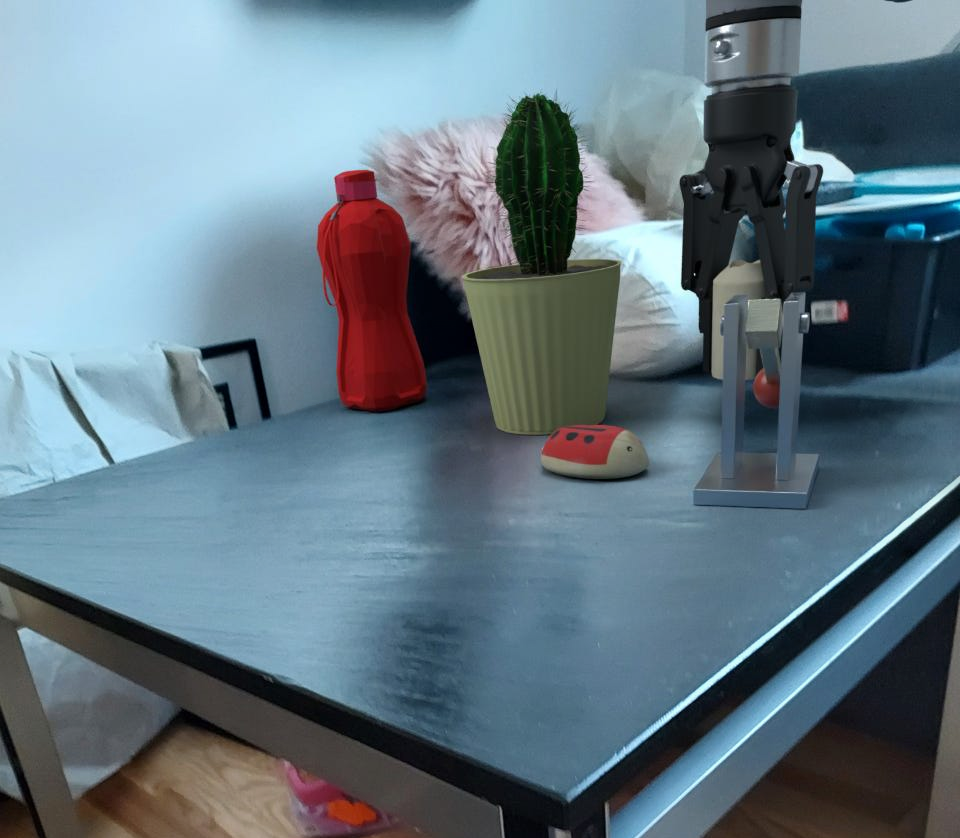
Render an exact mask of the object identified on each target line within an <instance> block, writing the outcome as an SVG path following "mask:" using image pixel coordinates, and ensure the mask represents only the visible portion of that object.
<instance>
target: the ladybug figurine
mask: <svg viewBox="0 0 960 838" xmlns="http://www.w3.org/2000/svg"><path fill="white" fill-rule="evenodd" d="M540 450H541V451H540V452H541V453H540V464H541V465H542V467H543V468H545V469H546V470H547V471H550V472H552V473H554V474H558V475H560V476H561V475H562V476H566V477H572V478H579V479H587V480H588V479H589V480H591V479H592V480H612V479H613V480H614V479H623V478H628V477H631V476H635V475H638V474H640V473H642V472H643V471H644V470H646V469H647V468H648V467H649V464H650V459H649V455H648V451H647V450H646V448H645V446H644V445H643V442H642V441H641V439H639V437H637V436H636V435H635V434H634V433H632V432H631V431H630V430H628V429H626V428H623V427H619V426H612V425H606V424H605V425H604V424H597V425H595V424H593V425H573V426H566V427H562V428H559V429H557V430H556V431H555V432H554V433H552V434H550V435H549V437H548V438H547V440H546V441H545V443H544V445H543V446H542V448H541V449H540Z"/></svg>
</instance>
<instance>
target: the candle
mask: <svg viewBox="0 0 960 838" xmlns="http://www.w3.org/2000/svg"><path fill="white" fill-rule="evenodd" d="M734 295H748V301H749V300H761V298H763V297H766V291H765V285H764V280H763V274H762V269H761V263H760V259H757V260H756V261H752V262H747V261H746V260H743V259H735V260H732V261H731V262H729V265H728V266H727V267H726V268H725V269H724V270H723V271H722V272H721V273H720V274H719V275H718V276H717V277H716V278H715V279H714V280H713V319H712V371H711V376H712V378H714V379H717V380H722V381H723V343H724V336H722V335H721V333H720V323H721V317H722V316H723V315H724V304H725V303H726V302H728V301H729V300H730V299H731V298H732V297H733V296H734ZM756 353H757V349H749V347H748V343H747V346H746V377H745V381H752V380H755V378H756Z"/></svg>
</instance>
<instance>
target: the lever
mask: <svg viewBox="0 0 960 838" xmlns="http://www.w3.org/2000/svg"><path fill="white" fill-rule="evenodd" d="M782 325H783V311H782V304H781V299H761V300H749V301H748V309H747V317H746V326H745V334H746V339H747V343H748V347H749V349H760V353H761V357H762V362H763V367H764V368H763V369H762V370H761V371H760V372H759V373H758V374H757V376H756V378H755V379H753V380H754V381H753V385H752V389H753V394H754V397H755V400H757V402H758V403H759V404H760V405H761V406H763V407H765V408H768V409H775V410H776V409H779V395H780V374H781V363H780V357H779V351H778V348H780V343H781V334H782Z"/></svg>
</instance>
